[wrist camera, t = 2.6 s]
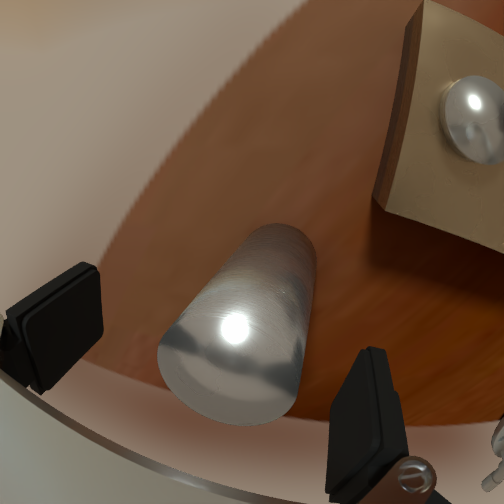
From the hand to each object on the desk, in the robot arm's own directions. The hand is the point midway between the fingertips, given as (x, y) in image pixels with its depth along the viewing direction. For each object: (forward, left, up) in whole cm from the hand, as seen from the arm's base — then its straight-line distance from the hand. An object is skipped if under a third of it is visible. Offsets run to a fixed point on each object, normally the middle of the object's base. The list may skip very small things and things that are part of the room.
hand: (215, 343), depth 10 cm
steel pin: (0, -1, -9) cm, 9 cm away
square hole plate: (+10, -15, -9) cm, 20 cm away
